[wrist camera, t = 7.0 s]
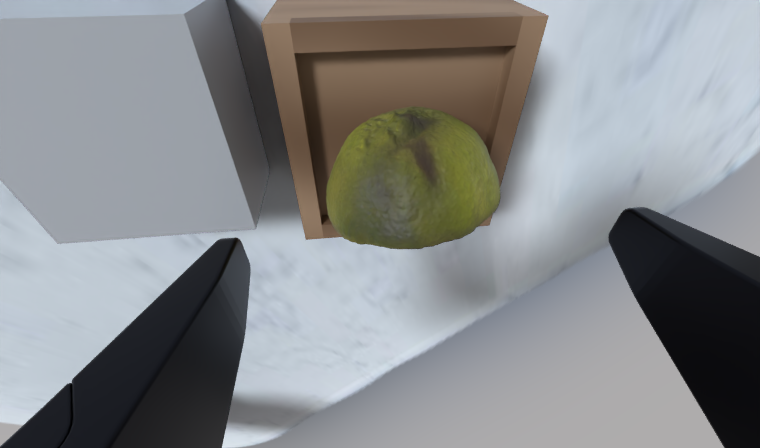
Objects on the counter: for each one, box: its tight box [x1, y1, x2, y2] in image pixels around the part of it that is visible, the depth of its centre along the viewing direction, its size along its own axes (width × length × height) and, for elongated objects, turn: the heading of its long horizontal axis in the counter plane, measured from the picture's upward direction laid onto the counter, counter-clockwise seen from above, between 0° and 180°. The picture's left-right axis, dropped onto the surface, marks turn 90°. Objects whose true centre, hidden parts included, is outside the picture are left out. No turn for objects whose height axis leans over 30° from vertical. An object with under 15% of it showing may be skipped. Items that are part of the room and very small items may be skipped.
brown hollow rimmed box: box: [261, 0, 548, 240], centre depth 13 cm, size 8×8×4 cm
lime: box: [326, 106, 500, 249], centre depth 10 cm, size 4×5×5 cm
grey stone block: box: [0, 0, 270, 244], centre depth 12 cm, size 7×7×4 cm
